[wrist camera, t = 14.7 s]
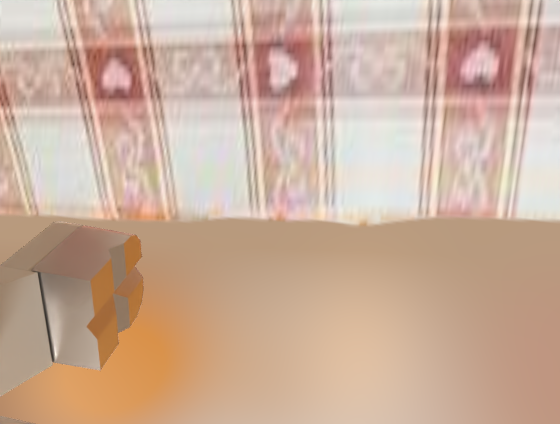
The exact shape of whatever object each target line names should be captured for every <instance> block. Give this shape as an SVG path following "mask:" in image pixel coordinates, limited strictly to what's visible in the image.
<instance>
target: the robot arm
mask: <svg viewBox="0 0 560 424" xmlns="http://www.w3.org/2000/svg"><path fill="white" fill-rule="evenodd" d="M141 257H142V252H141V241H140V239H139V238H138V237H137V235H133V234H128V233H122V232H117V231H112V230H106V229H100V228H95V227H89V226H83V225H80V224H73V223H65V222H53V223H52V224H51V225H49V226H48V227H47V228H45V229H44V230H43V231H42V232H41V233H39V234H38V235H37V236H36V237H34V238H33V239H32V240H31V241H29V242H28V243H27V244H26V245H25V246H23V247H22V248H21V249H20V250H18V252H16V253H15V254H13V255H12V256H11V257H10V258H9V259H7V260H6V261H5V262H4V263H2V264H1V265H0V396H2V395H3V394H5V393H7V392H8V391H10V390H12V389H13V388H15V387H17V386H18V385H20V384H22V383H23V382H25V381H27V380H28V379H30V378H32V377H33V376H35V375H37V374H38V373H40V372H42V371H43V370H45V369H47V368H48V367H50V366H52V364H53V363H52V362H54V363H60V364H66V365H72V366H78V367H84V368H90V369H95V370H101V369H102V367H103V366H104V365H105V363H106V362H107V360H108V358H109V357H110V356H111V354H112V353H113V351H114V350H115V349H116V347H117V346H118V344H119V342H118V333H119V332H121V331H123V330H125V329H127V328H129V327H130V326H131V325H132V323H133V322H134V320H135V319H136V317H137V315H138V312H139V309H140V306H141V303H142V298H143V290H144V286H143V277H142V275H141V274H140V272H139V271H138V270H137V268H136V267H135V265H136V264H137V262H138V261H139V260H140V259H141ZM0 424H34V423H30V422H25V421H20V420H16V419H11V418H7V417H2V416H0Z"/></svg>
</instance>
